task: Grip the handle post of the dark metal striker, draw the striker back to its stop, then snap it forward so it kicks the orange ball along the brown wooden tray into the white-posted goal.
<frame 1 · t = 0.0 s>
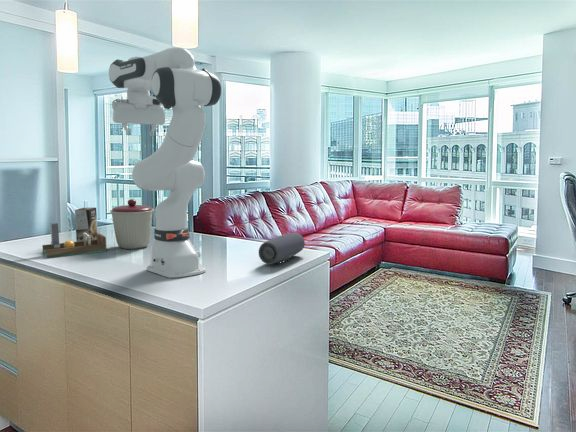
hand: (140, 135, 179), 48 cm above the countertop, fingers open, 8 cm apart
brown wooden tray: (74, 251, 184), on the countertop
ball: (69, 245, 182), point 3 cm above the countertop, touching brown wooden tray
bluetooth speaker: (282, 261, 172), on the countertop
striker: (55, 237, 179), point 7 cm above the countertop, slide at 2.0 cm
canister: (133, 247, 194), on the countertop
coffee box: (87, 244, 200), on the countertop
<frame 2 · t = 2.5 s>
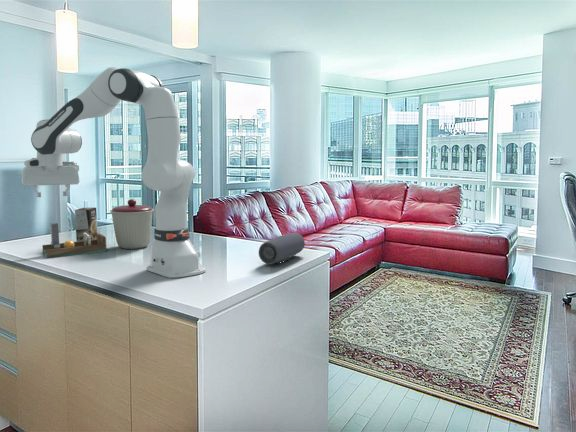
hand: (52, 196, 176), 23 cm above the countertop, fingers open, 8 cm apart
nothing on the countertop moved.
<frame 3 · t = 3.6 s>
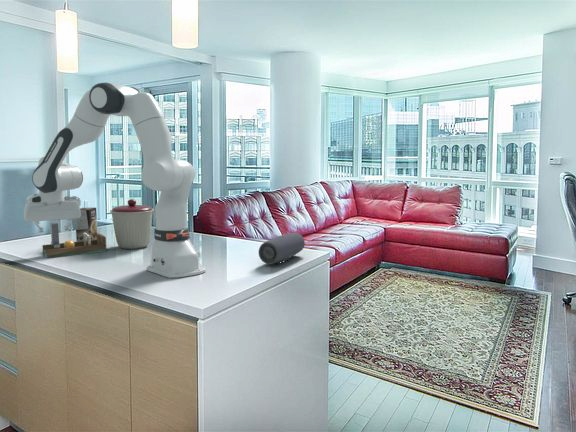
hand: (54, 231, 178), 9 cm above the countertop, fingers open, 8 cm apart
nothing on the countertop moved.
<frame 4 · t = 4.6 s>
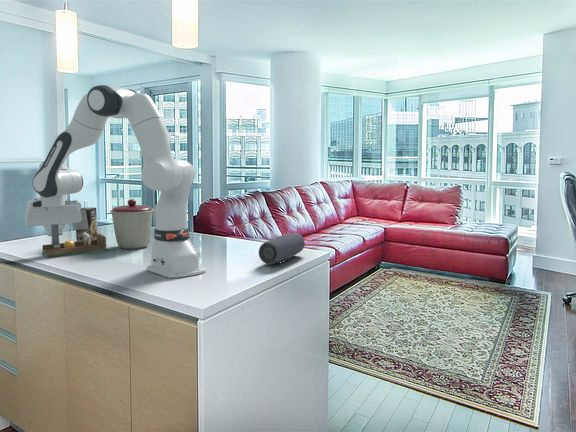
hand: (55, 235, 179), 8 cm above the countertop, fingers closed on striker, 2 cm apart
striker: (55, 237, 179), point 7 cm above the countertop, slide at 2.0 cm, touching gripper
everything else where it was.
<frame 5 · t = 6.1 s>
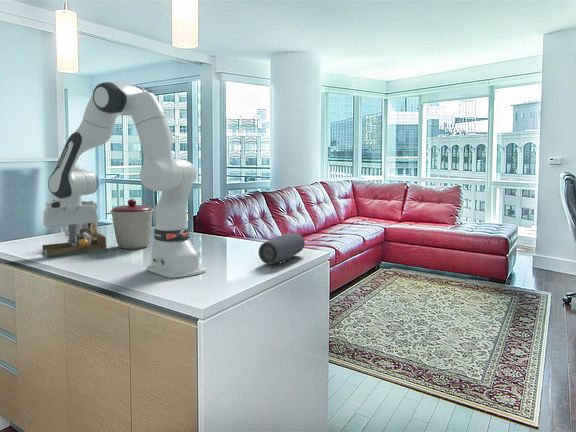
hand: (72, 235, 182), 7 cm above the countertop, fingers closed on striker, 2 cm apart
ball: (83, 243, 185), point 3 cm above the countertop, tilted 117°, touching brown wooden tray
striker: (71, 235, 182), point 7 cm above the countertop, slide at 8.3 cm, touching gripper
everything else where it was.
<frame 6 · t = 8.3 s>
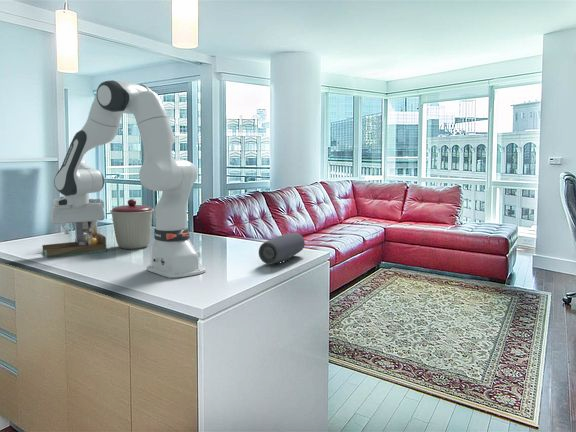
hand: (79, 232, 184), 8 cm above the countertop, fingers open, 8 cm apart
ball: (93, 242, 188), point 3 cm above the countertop, tilted 127°, touching brown wooden tray
striker: (79, 234, 184), point 7 cm above the countertop, slide at 11.0 cm
everything else where it was.
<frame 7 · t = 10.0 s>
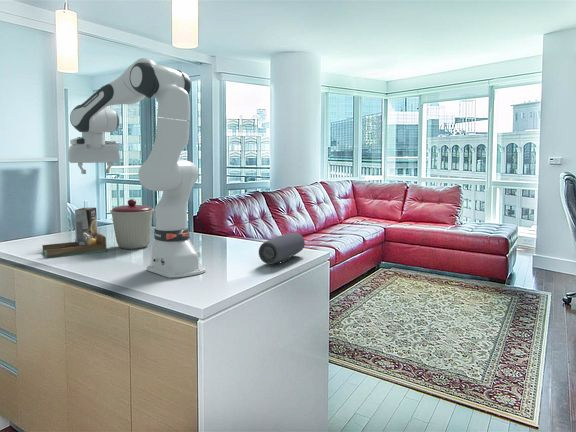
hand: (95, 173, 188), 32 cm above the countertop, fingers open, 8 cm apart
ball: (91, 242, 187), point 3 cm above the countertop, tilted 142°, touching brown wooden tray
everything else where it was.
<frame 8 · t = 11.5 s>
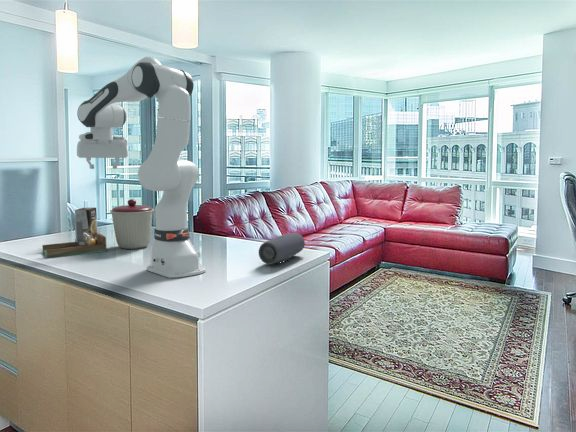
hand: (103, 168, 190), 34 cm above the countertop, fingers open, 8 cm apart
ball: (90, 242, 187), point 3 cm above the countertop, tilted 156°, touching brown wooden tray
everything else where it was.
at the end: ball inside the target area on the brown wooden tray (1.3 cm from its centre), point 3.0 cm above the brown wooden tray's base; ball moved 8.2 cm from its start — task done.
